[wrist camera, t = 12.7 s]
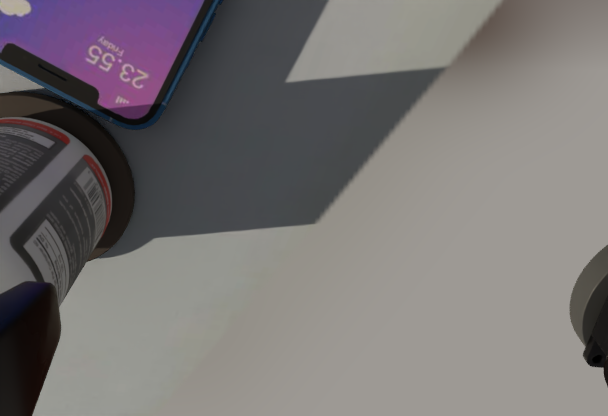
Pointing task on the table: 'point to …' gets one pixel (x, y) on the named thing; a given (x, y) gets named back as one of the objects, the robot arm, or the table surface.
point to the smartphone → (105, 51)
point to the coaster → (94, 141)
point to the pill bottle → (48, 204)
